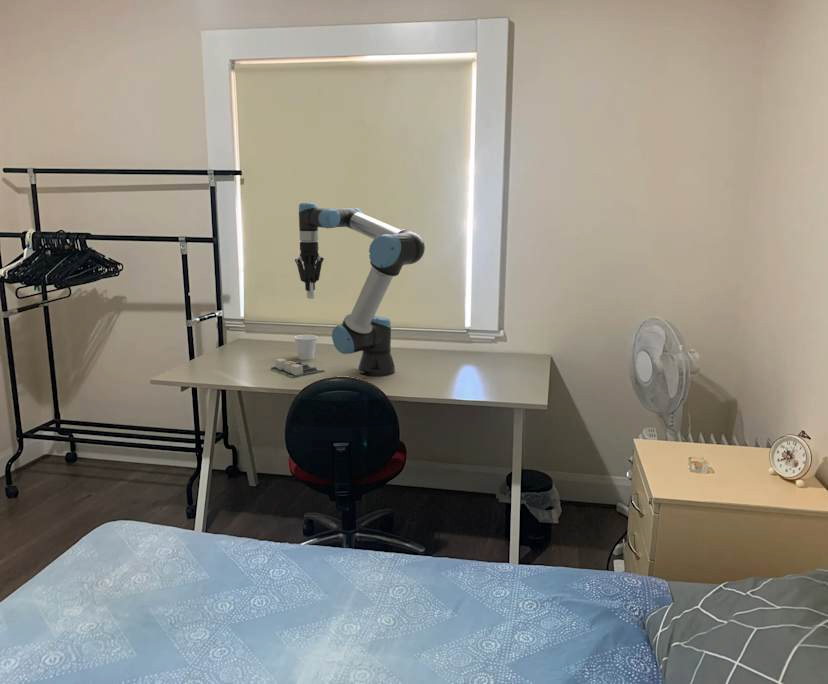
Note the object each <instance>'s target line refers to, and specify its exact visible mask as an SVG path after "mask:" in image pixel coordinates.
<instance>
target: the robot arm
mask: <svg viewBox="0 0 828 684" xmlns="http://www.w3.org/2000/svg"><path fill="white" fill-rule="evenodd" d="M298 223H299V224H298V227H299V241H300V242H299V251H300V253H299V257H298V258H295V259H294V263H296V266H297V271H298V275H299V279H300V281H301V282H302V283H304V289H305V291H306V298H307V299H309V300H312V299H314V295H315V294H314V291H315V290H316V285H315V284H316V283H317V282H318V281H319V280H320V277H321V270H322V264H323V261H324V260H325V259H324V257H321V256H320V253H319V242H318V241H319V228H324V229H335V228H349V229H351V230H353V231H356V232H357V233H360V234H361V235H364V236H366V237H368V238H371V239H373V240H372V242H371V243H370V245H369V249H368V252H369V254H368V255H369V256H368V257H369V260H370V261H369V264H370V266H371V268H370V271H369V273H368V275H367V277H366V279H365V282H364V284H363V287H362V289H361V291H360V293H359V294H358V297H357V299H356V302H355V304H354V306H353V309H352V311H351V313H349V314H347V315H345V317H344V319H343V321H342V323H341V324H337V325H336V326H335V327H334V328H333V329H332V331H331V338H332V339H331V340H332V343H333V346H334V348H335V349H336V350H337V351H338V352H339V353H341V354H343V355H349V354H350V355H351V354H354V353H358V352H362V354H361V358H360V361H359V365H358V371H361V372H360V374H361V375H365V376H371V377H374V376H375V377H376V376H377V377H378V376H379V377H380V376H389V375H391V374H394V373H395V372H396V367H395V366H396V365H395V363H394V362H395V361H394V360H393V356H392V353H391V351H392V350H391V348H392V347H391V343H392V335H391V333H392V326H391V320H390V319H389V318H388V317H383V316H378V315H376V314H377V311H378V309H379V307H380V304H381V302H382V300H383V298H384V296H385V295H386V292H387V289H389V286H390V284H391V282H392V280H393V277H397V276H399V274H400V272H401V270H402V269H403V266H407V265H412V264H416V263H418V262H419V261H420V260H421V259H422V257H423V256H424V254H425V249H426V247H425V242H424V240H423V238H422V237H421V236H420V235H419V234H418V233H415V232H413V231H410V230H409V229H406V228H405V229H404V228H403V229H399V228H396V227H395V226H392V225H390V224H388V223H386V222H383V221H380V220H378V219H377V218H373V217H372V216H369V215H366V214H364V213H363V211H362V210H361V209H360V208H356V207H340V208H337V207H335V208H331V207H330V208H318V203H316V202H301V203H299V205H298Z"/></svg>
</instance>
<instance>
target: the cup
mask: <svg viewBox="0 0 828 684" xmlns="http://www.w3.org/2000/svg"><path fill="white" fill-rule="evenodd" d="M293 338H294V341H295V347H296V351H297V356H298V357H297V358H298V359H299V360H302V361H309V360H314V358H315V351H316V345H317V339H318V336H317V335H316V334H315V335H314V334H298V335H295V336H294V337H293Z"/></svg>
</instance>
